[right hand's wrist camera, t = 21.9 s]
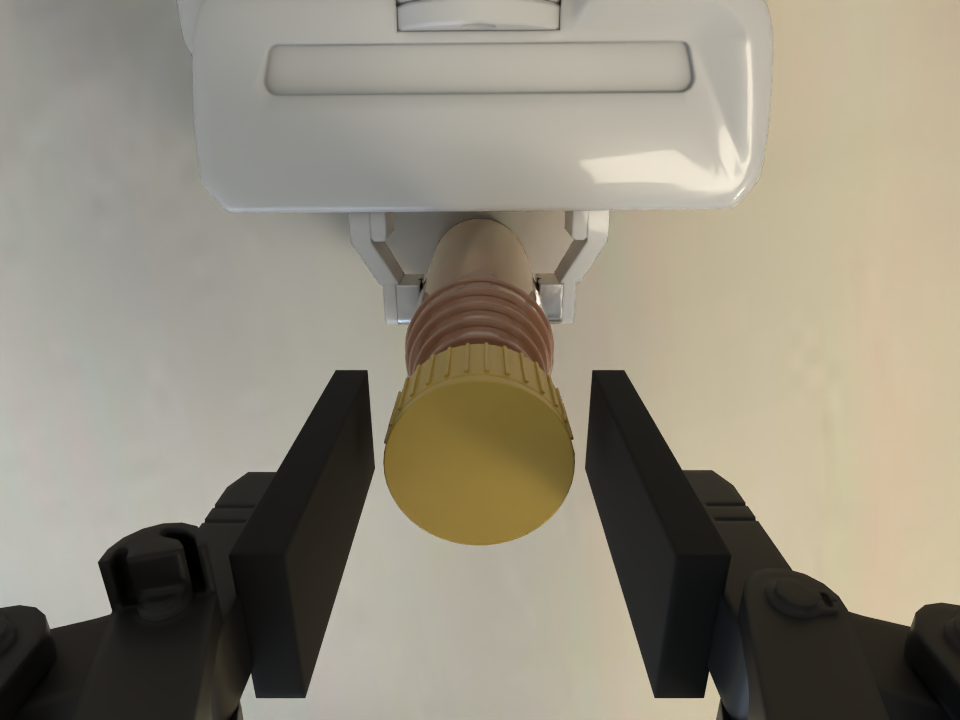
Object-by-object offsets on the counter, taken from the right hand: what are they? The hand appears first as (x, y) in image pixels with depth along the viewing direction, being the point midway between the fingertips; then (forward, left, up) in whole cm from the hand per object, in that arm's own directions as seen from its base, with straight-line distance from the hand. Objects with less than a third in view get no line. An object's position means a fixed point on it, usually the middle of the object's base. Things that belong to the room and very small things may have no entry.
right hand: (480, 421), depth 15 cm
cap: (0, 0, +2) cm, 2 cm away
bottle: (0, 0, -17) cm, 17 cm away
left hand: (-1, +1, -11) cm, 11 cm away
